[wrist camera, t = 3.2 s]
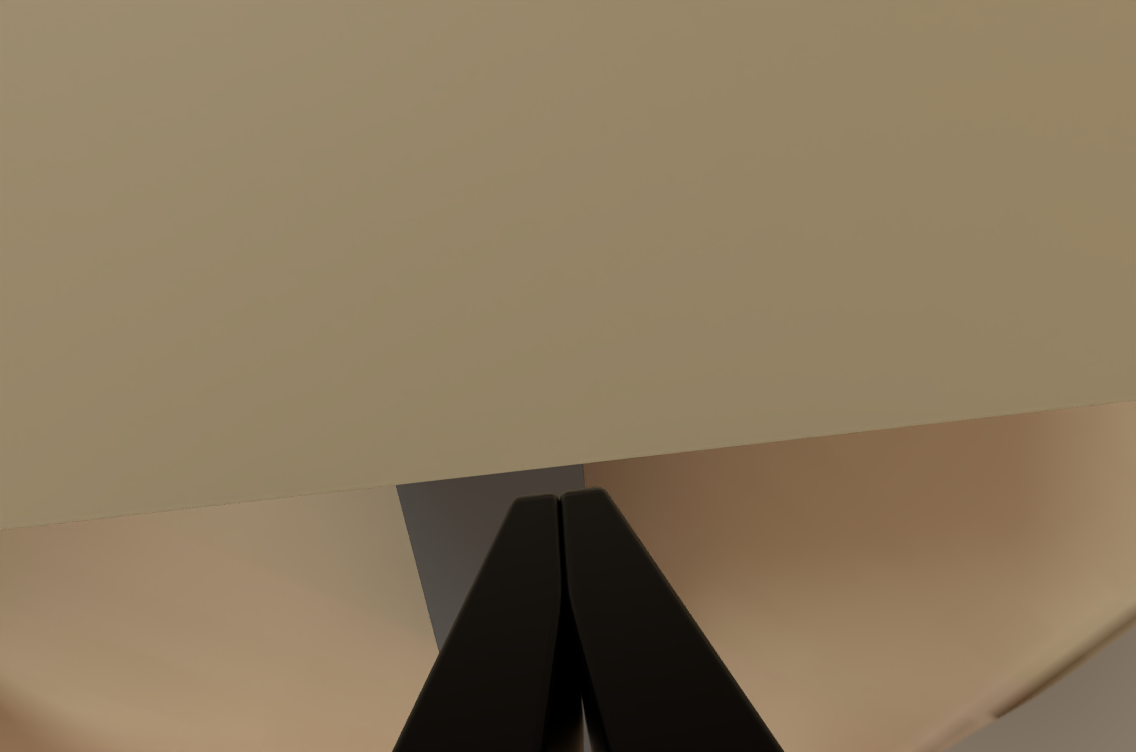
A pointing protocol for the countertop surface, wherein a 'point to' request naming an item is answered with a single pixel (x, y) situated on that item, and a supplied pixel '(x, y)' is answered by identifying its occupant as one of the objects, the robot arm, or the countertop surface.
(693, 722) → the robot arm
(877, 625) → the countertop surface
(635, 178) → the carton lid
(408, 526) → the grey rectangular bar
